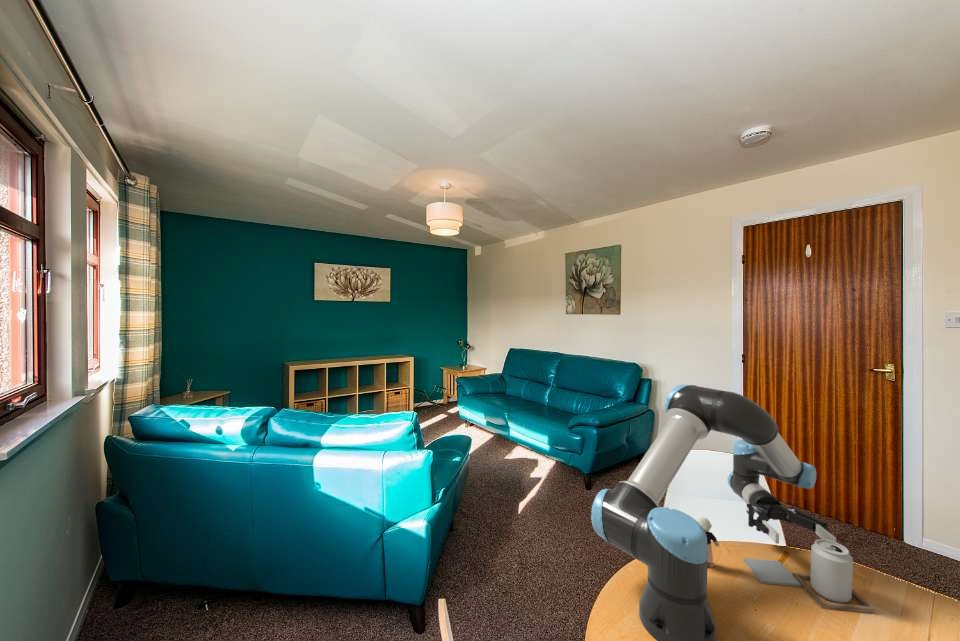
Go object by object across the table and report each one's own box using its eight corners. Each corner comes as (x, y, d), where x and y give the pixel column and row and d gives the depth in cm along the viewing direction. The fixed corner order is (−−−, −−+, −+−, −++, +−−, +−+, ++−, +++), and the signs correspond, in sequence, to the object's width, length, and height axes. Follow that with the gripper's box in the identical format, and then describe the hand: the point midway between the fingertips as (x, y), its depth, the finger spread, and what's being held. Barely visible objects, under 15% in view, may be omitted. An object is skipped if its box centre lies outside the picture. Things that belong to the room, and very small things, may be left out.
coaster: (761, 583, 98) (761, 580, 98) (743, 560, 107) (743, 557, 107) (801, 586, 97) (801, 584, 97) (779, 563, 106) (779, 561, 106)
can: (860, 607, 90) (861, 557, 90) (822, 603, 92) (824, 553, 91) (837, 585, 98) (838, 538, 97) (803, 581, 99) (804, 535, 99)
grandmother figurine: (708, 557, 109) (709, 512, 108) (720, 566, 105) (721, 520, 104) (686, 562, 106) (686, 517, 106) (697, 571, 103) (698, 524, 102)
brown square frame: (821, 607, 90) (821, 603, 90) (792, 576, 101) (792, 572, 101) (873, 613, 89) (873, 609, 89) (838, 580, 99) (838, 576, 99)
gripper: (804, 515, 123) (858, 559, 102) (718, 509, 127) (754, 550, 106) (805, 492, 122) (859, 531, 101) (719, 487, 126) (754, 523, 105)
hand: (805, 541), depth 104 cm, fingers open, 13 cm apart
